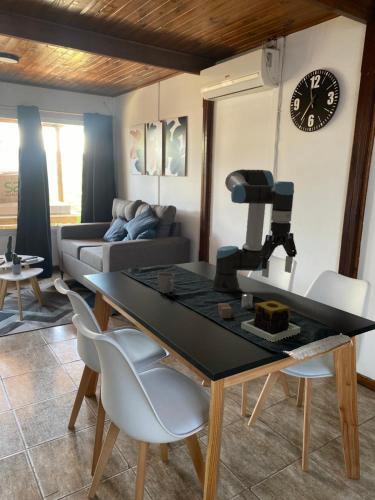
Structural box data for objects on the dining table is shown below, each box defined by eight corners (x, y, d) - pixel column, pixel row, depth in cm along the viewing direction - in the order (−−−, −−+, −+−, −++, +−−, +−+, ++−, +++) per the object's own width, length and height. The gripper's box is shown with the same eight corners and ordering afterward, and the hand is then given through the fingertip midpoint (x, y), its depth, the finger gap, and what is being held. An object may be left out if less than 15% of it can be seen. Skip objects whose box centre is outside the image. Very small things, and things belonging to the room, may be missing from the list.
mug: (154, 290, 196) (154, 273, 194) (168, 288, 201) (169, 271, 199) (165, 297, 186) (165, 278, 184) (180, 294, 191) (180, 276, 189)
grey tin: (239, 306, 176) (239, 294, 175) (246, 304, 179) (247, 292, 178) (246, 309, 172) (247, 297, 171) (254, 307, 175) (254, 295, 174)
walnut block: (217, 312, 168) (218, 303, 167) (227, 312, 168) (227, 303, 167) (221, 318, 161) (221, 308, 160) (231, 318, 161) (231, 308, 161)
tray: (241, 328, 150) (241, 322, 150) (268, 319, 160) (268, 314, 160) (272, 342, 138) (273, 336, 137) (300, 333, 147) (300, 327, 147)
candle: (269, 336, 142) (271, 311, 140) (252, 326, 151) (254, 303, 149) (289, 331, 147) (291, 307, 145) (271, 322, 156) (273, 299, 154)
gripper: (266, 224, 134) (262, 281, 138) (309, 221, 148) (304, 272, 152) (251, 222, 140) (247, 276, 144) (293, 219, 154) (289, 268, 158)
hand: (276, 274), depth 148 cm, fingers open, 13 cm apart
